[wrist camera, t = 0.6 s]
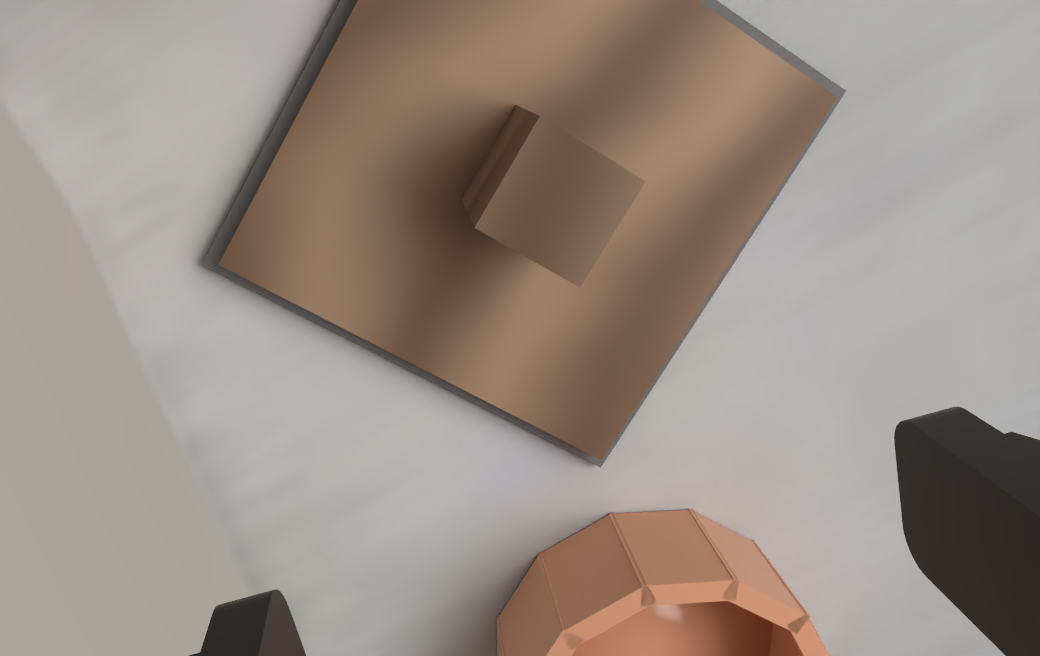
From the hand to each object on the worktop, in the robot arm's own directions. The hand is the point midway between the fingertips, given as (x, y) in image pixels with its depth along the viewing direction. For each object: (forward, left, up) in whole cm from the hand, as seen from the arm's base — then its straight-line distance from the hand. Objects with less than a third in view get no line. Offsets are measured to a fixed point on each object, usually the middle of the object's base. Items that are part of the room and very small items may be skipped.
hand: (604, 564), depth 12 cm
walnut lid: (-1, -3, -21) cm, 21 cm away
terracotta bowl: (-15, +11, -21) cm, 28 cm away
